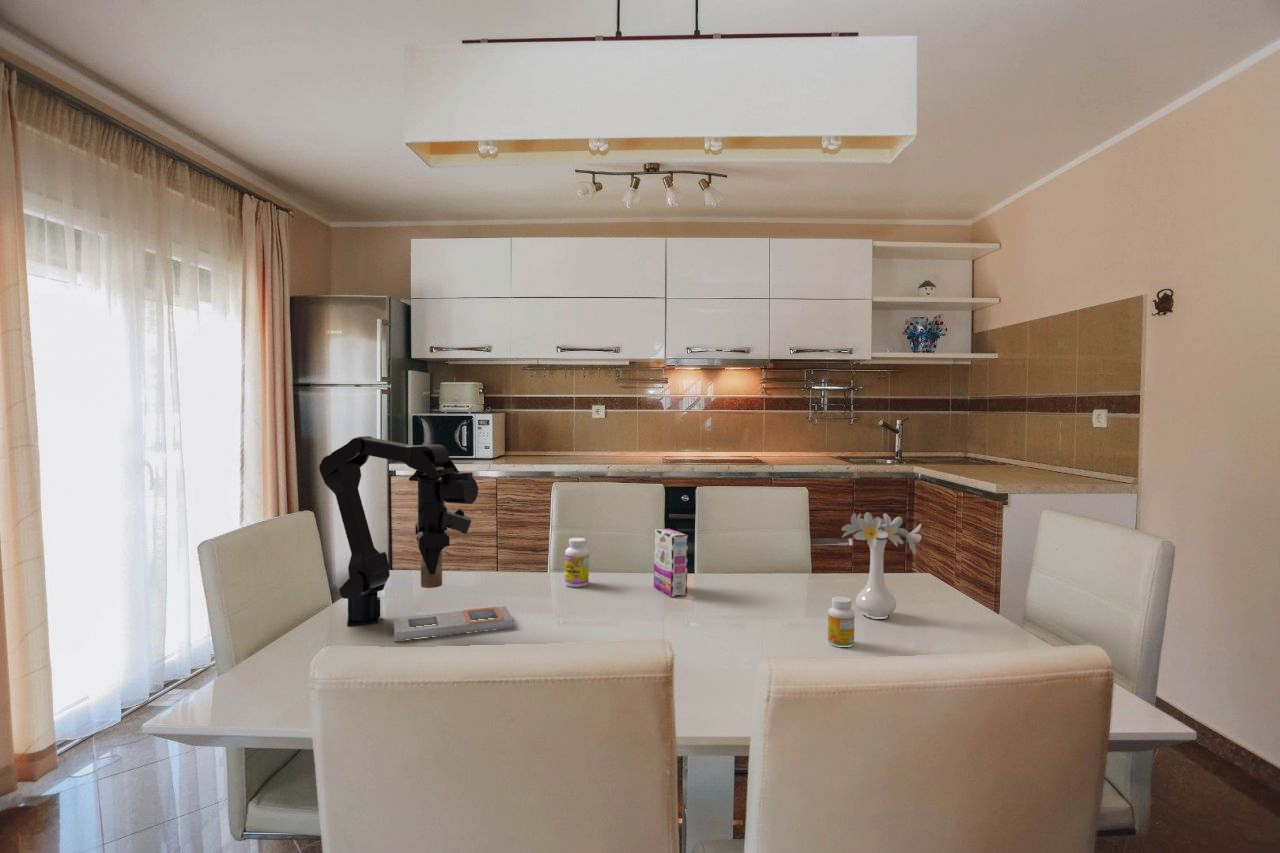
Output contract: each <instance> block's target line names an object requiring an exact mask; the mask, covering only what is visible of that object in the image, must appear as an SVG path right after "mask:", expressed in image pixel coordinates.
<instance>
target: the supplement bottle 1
mask: <svg viewBox="0 0 1280 853" xmlns="http://www.w3.org/2000/svg"><path fill="white" fill-rule="evenodd" d="M568 545H569V547H567V548H566V550H565V552H564V584H565V585H566V586H567V587H570V588H583V586H584V587H586V586H588V584H589V574H590V573H589V571H590V570H589V567H590V566H589V565H590V561H589V560H590V556H589V555H590V552H589V549H588V548H587V547H586V538H584V537H570V538H569V539H568Z"/></svg>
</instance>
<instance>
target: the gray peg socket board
mask: <svg viewBox="0 0 1280 853" xmlns="http://www.w3.org/2000/svg"><path fill="white" fill-rule="evenodd" d="M488 618H494V619H488ZM478 619H485V620H478ZM471 620H476V621H471ZM432 624H436V625H432ZM424 625H432V626H424ZM416 626H423V627H416ZM409 627H414V628H409ZM502 628H509V629H514V619H513V616H512V615H511V613H510V611H508V609H507V607H506V606H505V605H504V606H498V607H497V606H489V607H479V608H473V609H472V608H470V609H463V610H458V611H457V610H456V611H450V612H438V613H430V614H429V613H428V614H420V615H412V616H411V615H410V616H403V617H402V616H399V617H394V618H393V636H394V638H395V639H394V642H395V641H400V642H402V641H401V640H406V639H414V638H421V637H432V636H440V635H449V634H458V633H467V632H475V631H484V632H486V631H485V630H492V631H494V630H493V629H500V630H503V629H502ZM475 633H476V632H475ZM467 634H468V633H467Z"/></svg>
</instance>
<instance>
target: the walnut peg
mask: <svg viewBox="0 0 1280 853" xmlns="http://www.w3.org/2000/svg"><path fill="white" fill-rule="evenodd" d="M441 586H443V549H442V550H441V551H440V554H439V558H438V563H437V567H436V572H435V574H432V575H430V574H429V571H428V569H427V566H426V564H425V562H424V559H423V557H422V555H421V554H420V587H421V588H425V589H434V588H439V587H441Z"/></svg>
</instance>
